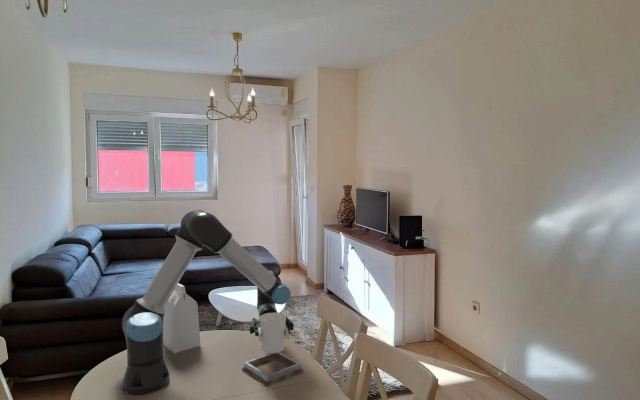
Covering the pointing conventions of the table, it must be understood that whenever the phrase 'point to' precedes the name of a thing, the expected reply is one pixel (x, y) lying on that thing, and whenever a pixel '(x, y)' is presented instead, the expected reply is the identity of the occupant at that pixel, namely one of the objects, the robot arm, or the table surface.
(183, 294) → the milk
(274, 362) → the walnut plate
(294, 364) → the grey square frame
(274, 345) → the candle holder
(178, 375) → the table surface
